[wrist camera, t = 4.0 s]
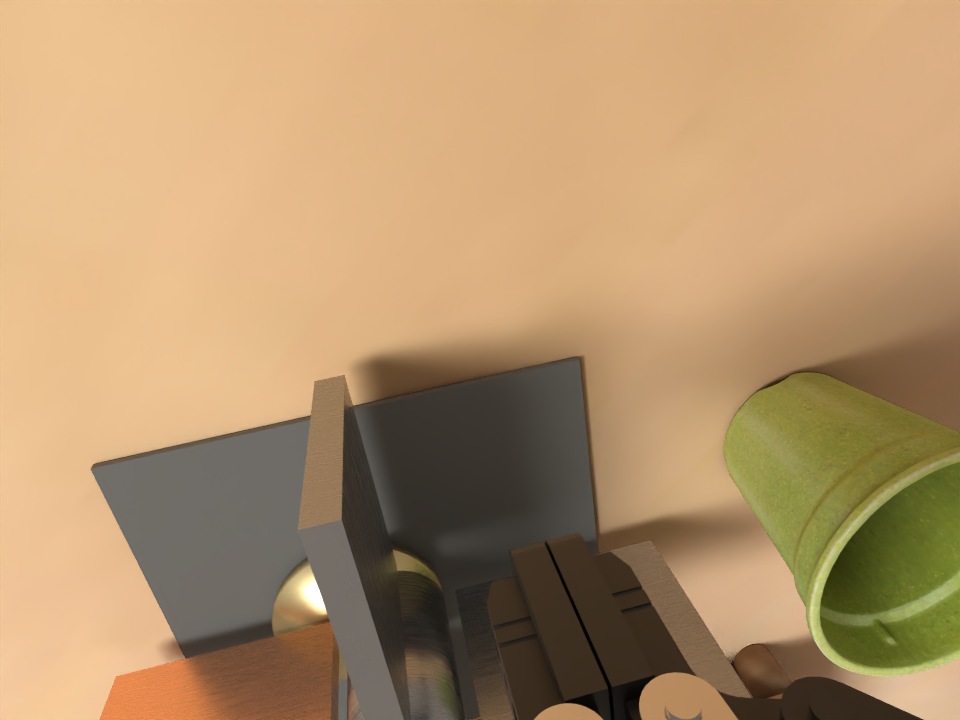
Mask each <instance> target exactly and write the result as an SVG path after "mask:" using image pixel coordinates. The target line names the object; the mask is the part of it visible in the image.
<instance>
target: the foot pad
mask: <svg viewBox="0 0 960 720" xmlns="http://www.w3.org/2000/svg"><path fill="white" fill-rule="evenodd" d="M353 408H354V412H355V415H356V419H357V423H358V426H359V430H360V433H361V437H362V441H363V444H364V448H365V452H366V455H367V459H368V463H369V466H370V470H371V473H372V477H373V481H374V484H375V488H376V492H377V495H378V499H379V503H380V506H381V510H382V513H383V517H384V521H385V524H386V528H387V532H388V535H389V539H390V542H391V543H395V544H398V545H401V546H404V547H407V548H409V549H410V550H412V551H414V552H416V553H418V554H419V555H420V556H422V557H423V558H424V559H425V560H427V561H428V562H429V563H430V564H431V566H432V567H433V568H434V570H435V571H436V573H437V574H438V576H439V578H440V581H441V584H442V587H443V593H444V599H445V604H446V610H447V615H448V621H449V627H450V632H451V638H452V643H453V649H454V654H455V660H456V666H457V671H458V677H459V682H460V688H461V694H462V699H463V705H464V710H465V716H466V720H469V719H473V718H476V717H480V712H479V707H478V702H477V697H476V692H475V687H474V682H473V677H472V672H471V667H470V662H469V657H468V652H467V648H466V643H465V638H464V633H463V628H462V623H461V618H460V613H459V608H458V603H457V598H456V593H455V590H457V589H461V588H465V587H469V586H473V585H477V584H481V583H485V582H488V581H492V580H496V579H500V578H504V577H508V576H512V569H511V563H510V556H509V550H513V549H517V548H521V547H525V546H529V545H533V544H537V543H541V542H543V543H544V544H545V541H548V540H552V539H556V538H560V537H564V536H567V535H571V534H575V533H579V534H580V535H581V536H582V538H583V540H584V541H585V543H586V545H587V547H588V549H589V551H590V553H591V555H594V554H598V547H597V536H596V526H595V515H594V505H593V495H592V484H591V474H590V463H589V453H588V442H587V432H586V422H585V411H584V401H583V390H582V380H581V369H580V360H579V358H578V357H573V358H568V359H564V360H559V361H555V362H550V363H546V364H541V365H537V366H532V367H528V368H523V369H519V370H514V371H510V372H505V373H501V374H496V375H492V376H487V377H483V378H479V379H474V380H470V381H465V382H461V383H456V384H452V385H447V386H443V387H438V388H434V389H429V390H425V391H420V392H416V393H411V394H407V395H402V396H398V397H393V398H389V399H384V400H380V401H375V402H371V403H366V404H362V405H357V406H353ZM310 419H311V416H308V417H304V418H299V419H295V420H290V421H286V422H281V423H277V424H272V425H268V426H263V427H259V428H254V429H250V430H245V431H241V432H236V433H232V434H227V435H223V436H218V437H214V438H209V439H205V440H200V441H196V442H191V443H187V444H182V445H178V446H173V447H169V448H164V449H160V450H155V451H151V452H146V453H142V454H137V455H133V456H129V457H124V458H120V459H115V460H111V461H106V462H102V463H97V464H93V466H92V467H91V471H92V473H93V475H94V477H95V479H96V481H97V483H98V485H99V487H100V489H101V491H102V493H103V495H104V497H105V499H106V501H107V503H108V505H109V507H110V509H111V511H112V513H113V515H114V517H115V519H116V521H117V523H118V525H119V527H120V529H121V530H122V532H123V534H124V536H125V538H126V540H127V542H128V544H129V546H130V548H131V550H132V552H133V554H134V556H135V558H136V560H137V562H138V564H139V566H140V568H141V570H142V572H143V574H144V576H145V578H146V580H147V582H148V584H149V586H150V588H151V590H152V592H153V594H154V596H155V598H156V600H157V602H158V604H159V606H160V608H161V610H162V612H163V614H164V616H165V618H166V620H167V622H168V624H169V626H170V628H171V630H172V632H173V634H174V636H175V638H176V640H177V642H178V644H179V646H180V648H181V650H182V652H183V654H184V656H185V658H186V659H187V658H191V657H195V656H199V655H203V654H207V653H211V652H215V651H218V650H222V649H226V648H230V647H234V646H238V645H242V644H246V643H250V642H254V641H258V640H262V639H265V638H269V637H273V636H274V633H273V627H272V615H273V608H274V602H275V598H276V594H277V592H278V589H279V587H280V585H281V583H282V582H283V580H284V579H285V577H286V576H287V575H288V574H289V572H290V571H291V570H292V569H293V568H294V567H295V566H296V565H298V564H299V563H300V562H301V561H303V560H304V559H305V558H307V555H306V552H305V549H304V547H303V544H302V541H301V538H300V535H299V532H298V524H299V515H300V506H301V498H302V489H303V480H304V472H305V463H306V454H307V445H308V437H309V428H310ZM338 720H347V680H341V679H339V701H338Z"/></svg>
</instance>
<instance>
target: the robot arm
mask: <svg viewBox="0 0 960 720" xmlns="http://www.w3.org/2000/svg"><path fill="white" fill-rule="evenodd" d="M509 556H510V563H511V569H512V575H513V577H510V578H506V579H503V580H499V581H495V582H492V583H491V587H490V592H489V597H488V601H487V607H488V613H489V618H490V623H491V629H492V634H493V639H494V645H495V650H496V655H497V659H498V663H499V667H500V671H501V674H502V678H503V681H504V685H505V689H506V693H507V697H508V700H509V704H510V708H511V711H512V715H513V719H514V720H923V719H921V718H919V717H916V716H914V715H912V714H910V713H907V712H905V711H903V710H901V709H899V708H896V707H894V706H892V705H890V704H887V703H885V702H883V701H881V700H879V699H876V698H874V697H872V696H870V695H867V694H865V693H863V692H861V691H859V690H856V689H854V688H852V687H850V686H847V685H845V684H843V683H841V682H838V681H835V680H832V679H828V678H823V677H806V678H802V679H799V680H796V681H794V682H793V683H791V684H790V685H789V686H788V687H787V688H786V689H785V691H784V693H783V695H782V698H781V699H768V698H745V697H736V696H732V695H728V694H725V693H722V692H720V691H718V690H716V689H715V688H714V687H713V686H711V685H710V684H709V683H707V682H706V681H704V680H703V679H701V678H699V677H698V676H697V675H696V674H695V673H694V672H693V671H692V669H691V668H690V666H689V665H688V663H687V661H686V660H685V658H684V656H683V655H682V653H681V651H680V650H679V648H678V646H677V645H676V643H675V641H674V640H673V638H672V636H671V634H670V633H669V631H668V629H667V628H666V626H665V624H664V623H663V621H662V619H661V618H660V616H659V614H658V613H657V611H656V609H655V607H654V606H652V603H651V601H650V599H649V597H648V596H647V594H646V592H645V591H644V590H643V589H642V586H641V584H640V582H639V580H638V579H637V577H636V575H635V574H634V572H633V570H632V569H631V567H630V566H629V565H628V564H626V563H625V562H624V561H622V560H621V559H620V558H618V557H617V556H616V555H614V554H613V553H612V552H606V553H602V554H598V555H595V556H592V555H591V553H590V551H589V549H588V547H587V545H586V543H585V541H584V540H583V538H582V536H581V535H580V534H579V533H575V534H571V535H567V536H564V537H560V538H556V539H552V540H548V541H545V544H544V543H543V542H541V543H537V544H533V545H529V546H525V547H521V548H517V549H513V550H509Z"/></svg>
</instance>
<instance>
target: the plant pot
mask: <svg viewBox="0 0 960 720" xmlns="http://www.w3.org/2000/svg"><path fill="white" fill-rule="evenodd" d="M724 456H725V460H726V464H727V468H728V471H729V474H730V476H731V478H732V480H733V481H734V483H735V484H736V486H737V487H738V489H739V490H740V492H741V494H742V495H743V497H744V498H745V500H746V501H747V503H748V504H749V506H750V507H751V509H752V511H753V512H754V514H755V515H756V517H757V518H758V520H759V521H760V523H761V525H762V526H763V528H764V529H765V531H766V532H767V534H768V536H769V537H770V539H771V540H772V542H773V543H774V545H775V547H776V548H777V550H778V551H779V553H780V554H781V556H782V558H783V559H784V561H785V563H786V564H787V566H788V567H789V569H790V571H791V572H792V574H793V575H794V580H795V585H796V588H797V591H798V593H799V595H800V597H801V599H802V601H803V603H804V605H805V607H806V618H807V623H808V627H809V630H810V633H811V635H812V637H813V639H814V641H815V643H816V644H817V646H818V647H819V649H820V650H821V651H822V653H823V654H824V655H825V656H826V657H827V658H828V659H829V660H830V661H832V662H833V663H835V664H836V665H838V666H839V667H841V668H844V669H846V670H848V671H851V672H855V673H860V674H865V675H870V676H882V677H886V676H890V677H892V676H902V675H909V674H913V673H915V672H922V671H925V670H928V669H932V668H936V667H939V666H941V665H944V664H947V663H949V662H951V661H953V660H955V659H958V658H960V432H958V431H955V430H953V429H951V428H948V427H946V426H943V425H941V424H939V423H936V422H934V421H932V420H929V419H927V418H925V417H923V416H920V415H918V414H916V413H913V412H911V411H909V410H906V409H904V408H902V407H899V406H897V405H894V404H892V403H890V402H888V401H885V400H883V399H881V398H878V397H876V396H874V395H871V394H869V393H867V392H864V391H862V390H860V389H857V388H855V387H853V386H851V385H848V384H846V383H844V382H841V381H839V380H837V379H835V378H833V377H830V376H828V375H825V374H821V373H813V372H804V373H796V374H792V375H790V376H789V377H788V378H787V379H785V380H783V381H781V382H780V383H778V384H776V385H773V386H771V387H768V388H765V389H762V390H759V391H758V392H756V393H755V394H754V395H753V396H751V397H750V398H749V399H748V400H747V401H746V402H745V403H744V405H743V406H742V407H741V408H740V409H739V411H738V412H737V414H736V415H735V417H734V418H733V420H732V422H731V424H730V426H729V429H728V431H727V434H726V438H725V442H724Z"/></svg>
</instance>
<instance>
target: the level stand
mask: <svg viewBox="0 0 960 720" xmlns="http://www.w3.org/2000/svg"><path fill="white" fill-rule="evenodd" d="M733 664H734V668H735V669H736V671H737V672H738V674H739V676H740V677H741V679H742V680H743V682H744V683H745V685H746V686H747V688H748V689H749V691H750V693H751V694H752V696H753V697H754V698H768V699H781V698H782V695H783V693H784V691H785V689H786V688H787V687H788V686H789V685H790V684H791V683H792V682H791V680H790V679H789V678H788V676H787V675H786V674H785V672H784V671H783V669H782V668H781V667H780V665H779V664H778V662H777V661H776V660H775V658H774V657H773V656H772V654H771V653H770V651H769V650H768V649H767V647H766V646H764V645H761V644H755V645H751V646H748V647H746V648H744V649H743V650H741V651H740V652H739V653H738V654H737V655H736V657H735V659H734V663H733Z"/></svg>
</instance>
